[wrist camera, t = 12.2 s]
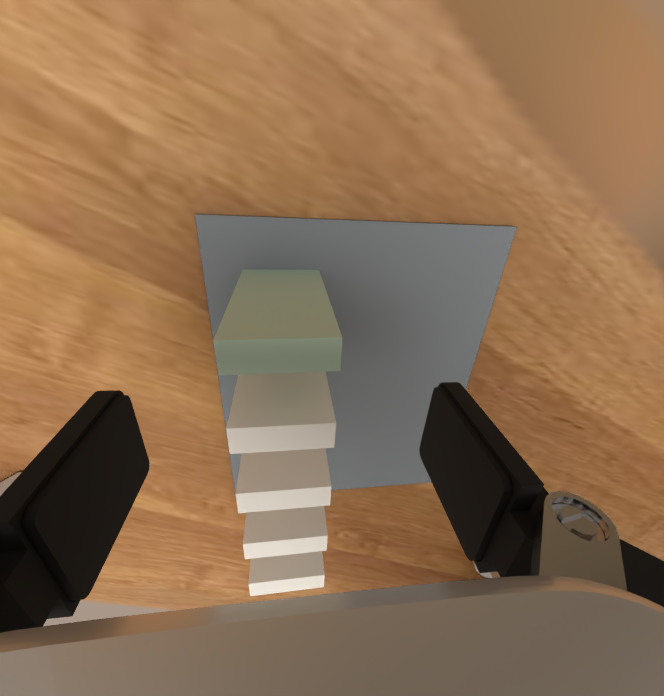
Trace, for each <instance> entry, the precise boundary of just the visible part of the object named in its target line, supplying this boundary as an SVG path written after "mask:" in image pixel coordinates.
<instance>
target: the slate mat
mask: <svg viewBox="0 0 664 696" xmlns="http://www.w3.org/2000/svg"><path fill="white" fill-rule="evenodd" d="M195 219H196V226H197V233H198V240H199V247H200V253H201V260H202V267H203V274H204V281H205V288H206V295H207V302H208V309H209V315H210V322H211V329H212V336H213V340H214V337H215V335H216V332H217V330H218V328H219V325H220V323H221V320H222V318H223V316H224V313H225V311H226V308H227V306H228V304H229V301H230V299H231V296H232V294H233V292H234V289H235V287H236V284H237V282H238V279H239V277H240V275H241V272H242V270H243V269H266V270H319V271H320V274H321V277H322V280H323V283H324V286H325V289H326V292H327V294H328V297H329V300H330V303H331V306H332V309H333V312H334V315H335V317H336V320H337V323H338V326H339V329H340V332H341V335H342V353H341V368H340V371H326V376H327V381H328V386H329V390H330V395H331V400H332V405H333V410H334V415H335V420H336V432H335V445H334V448H326V454H327V460H328V467H329V474H330V480H331V490H342V489H354V488H367V487H379V486H391V485H404V484H416V483H428V482H432V481H431V479H430V477H429V475H428V473H427V471H426V468H425V466H424V464H423V462H422V460H421V457H420V452H419V448H420V443H421V439H422V435H423V430H424V426H425V422H426V418H427V414H428V410H429V406H430V401H431V397H432V393H433V390H434V388H435V387H438V385H439V384H440V383H442V382H459V383H460V384H461V385H462V386H463V387H464V388H465V390H466V387H467V384H468V381H469V378H470V375H471V371H472V368H473V365H474V362H475V359H476V355H477V352H478V349H479V346H480V343H481V340H482V336H483V333H484V330H485V327H486V324H487V320H488V317H489V314H490V311H491V308H492V304H493V301H494V298H495V295H496V292H497V289H498V285H499V282H500V279H501V276H502V273H503V269H504V266H505V263H506V260H507V257H508V254H509V250H510V247H511V244H512V241H513V238H514V234H515V231H516V228H517V227H515V226H499V225H473V224H447V223H421V222H395V221H370V220H344V219H318V218H292V217H266V216H240V215H215V214H195ZM214 350H215V349H214ZM215 357H216V355H215ZM216 364H217V362H216ZM217 371H218V368H217ZM218 378H219V384H220V391H221V398H222V405H223V412H224V419H225V426H226V427H227V423H228V418H229V414H230V409H231V405H232V400H233V396H234V391H235V387H236V382H237V378H238V375H218ZM226 433H227V431H226ZM227 440H228V438H227ZM228 446H229V445H228ZM229 453H230V452H229ZM241 455H242V453H240V454H230V460H231V467H232V474H233V481H234V488H235V495H236V488H237V482H238V475H239V468H240V462H241Z"/></svg>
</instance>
